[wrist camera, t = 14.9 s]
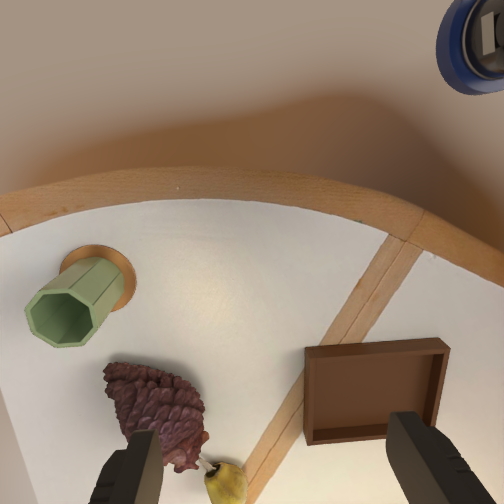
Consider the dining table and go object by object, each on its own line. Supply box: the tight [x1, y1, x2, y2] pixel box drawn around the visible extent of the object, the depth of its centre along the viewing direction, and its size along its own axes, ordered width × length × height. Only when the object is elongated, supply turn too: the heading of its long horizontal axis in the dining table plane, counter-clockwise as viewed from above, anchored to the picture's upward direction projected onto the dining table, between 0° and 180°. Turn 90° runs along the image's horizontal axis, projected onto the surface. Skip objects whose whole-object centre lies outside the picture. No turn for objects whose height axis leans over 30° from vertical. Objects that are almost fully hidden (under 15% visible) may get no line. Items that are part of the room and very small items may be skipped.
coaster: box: [59, 245, 136, 312], centre depth 40 cm, size 9×9×1 cm
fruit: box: [199, 458, 248, 504], centre depth 49 cm, size 6×6×10 cm
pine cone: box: [103, 362, 209, 473], centre depth 42 cm, size 18×10×10 cm
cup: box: [25, 257, 125, 348], centre depth 35 cm, size 6×6×9 cm
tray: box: [304, 338, 451, 446], centre depth 47 cm, size 20×16×3 cm
